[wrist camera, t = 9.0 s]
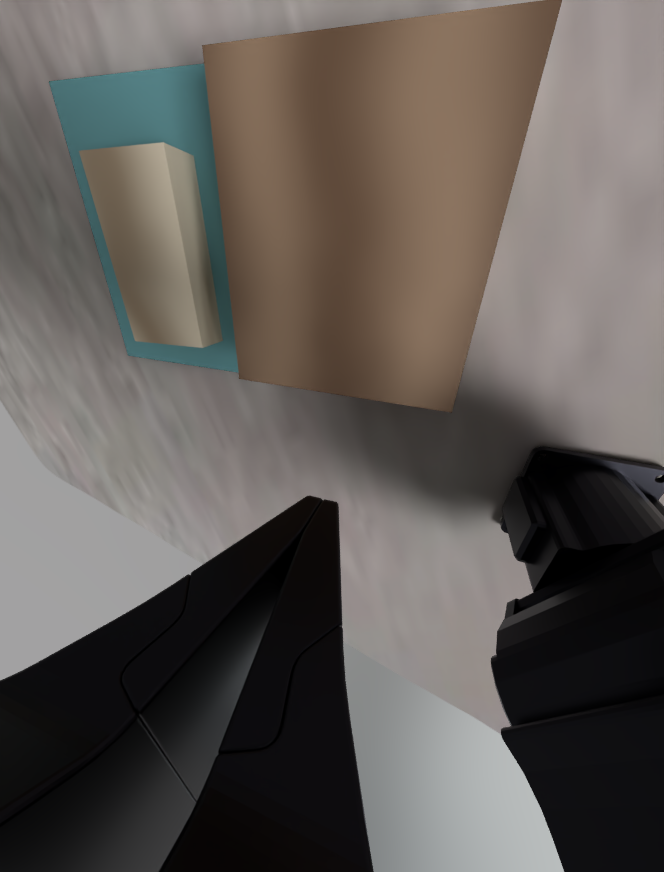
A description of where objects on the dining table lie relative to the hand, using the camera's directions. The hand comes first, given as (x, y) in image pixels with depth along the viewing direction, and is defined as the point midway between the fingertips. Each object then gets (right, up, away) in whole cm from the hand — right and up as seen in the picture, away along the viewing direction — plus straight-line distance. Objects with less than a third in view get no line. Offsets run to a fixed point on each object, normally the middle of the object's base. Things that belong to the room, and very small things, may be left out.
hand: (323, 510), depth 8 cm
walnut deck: (+2, +11, +8) cm, 14 cm away
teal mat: (-9, +13, +10) cm, 19 cm away
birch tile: (-10, +11, +8) cm, 17 cm away
